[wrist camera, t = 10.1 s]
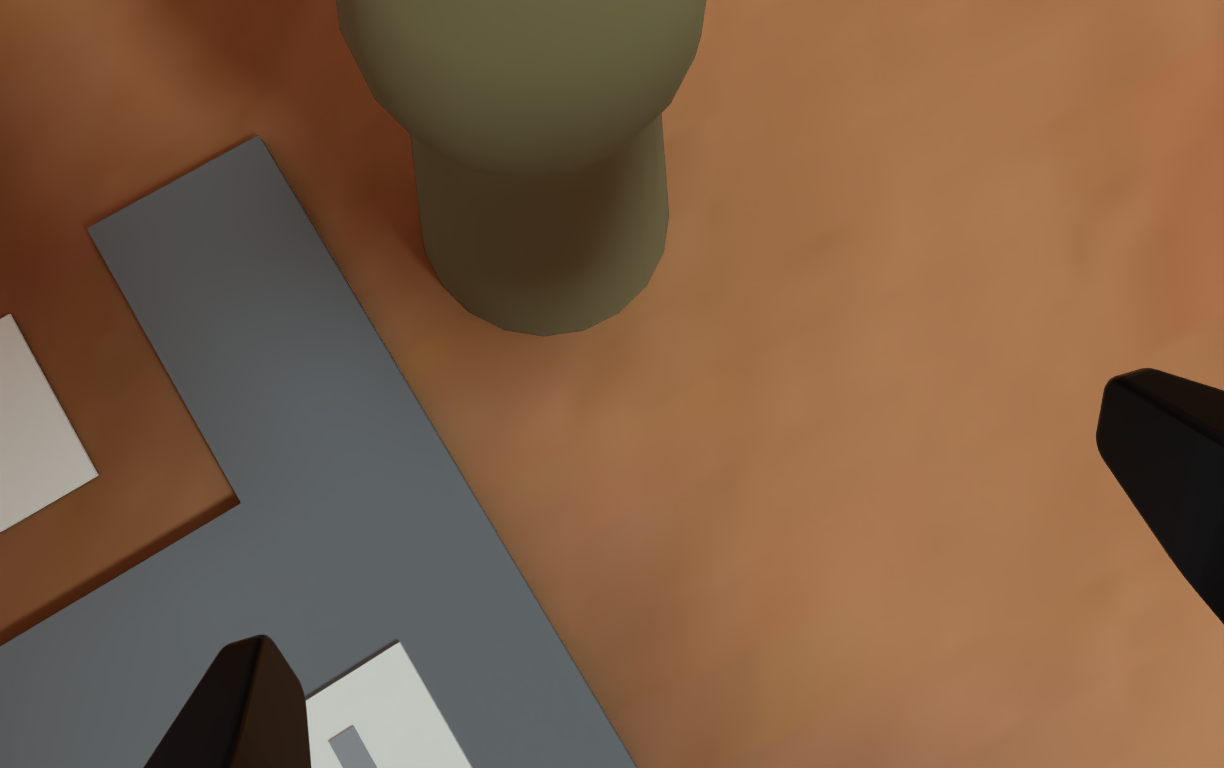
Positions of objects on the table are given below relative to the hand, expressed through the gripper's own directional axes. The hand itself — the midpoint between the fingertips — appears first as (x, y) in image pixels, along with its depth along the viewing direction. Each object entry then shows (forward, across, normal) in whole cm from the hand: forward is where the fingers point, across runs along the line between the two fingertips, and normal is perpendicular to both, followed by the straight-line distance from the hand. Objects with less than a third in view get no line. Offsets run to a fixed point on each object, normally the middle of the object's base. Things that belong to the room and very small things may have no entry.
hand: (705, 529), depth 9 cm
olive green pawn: (+14, 0, +3) cm, 14 cm away
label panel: (+8, +10, +8) cm, 15 cm away
